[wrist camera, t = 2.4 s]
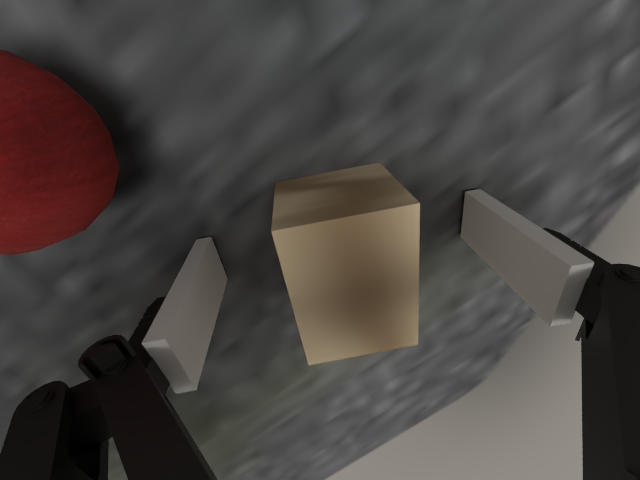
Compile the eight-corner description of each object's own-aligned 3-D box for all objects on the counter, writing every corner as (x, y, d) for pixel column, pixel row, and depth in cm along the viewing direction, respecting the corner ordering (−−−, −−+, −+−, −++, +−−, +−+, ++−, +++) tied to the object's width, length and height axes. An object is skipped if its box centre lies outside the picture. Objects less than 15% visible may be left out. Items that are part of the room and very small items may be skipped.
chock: (302, 292, 18) (308, 365, 13) (275, 181, 14) (271, 231, 10) (385, 277, 18) (417, 344, 13) (379, 161, 14) (419, 203, 10)
